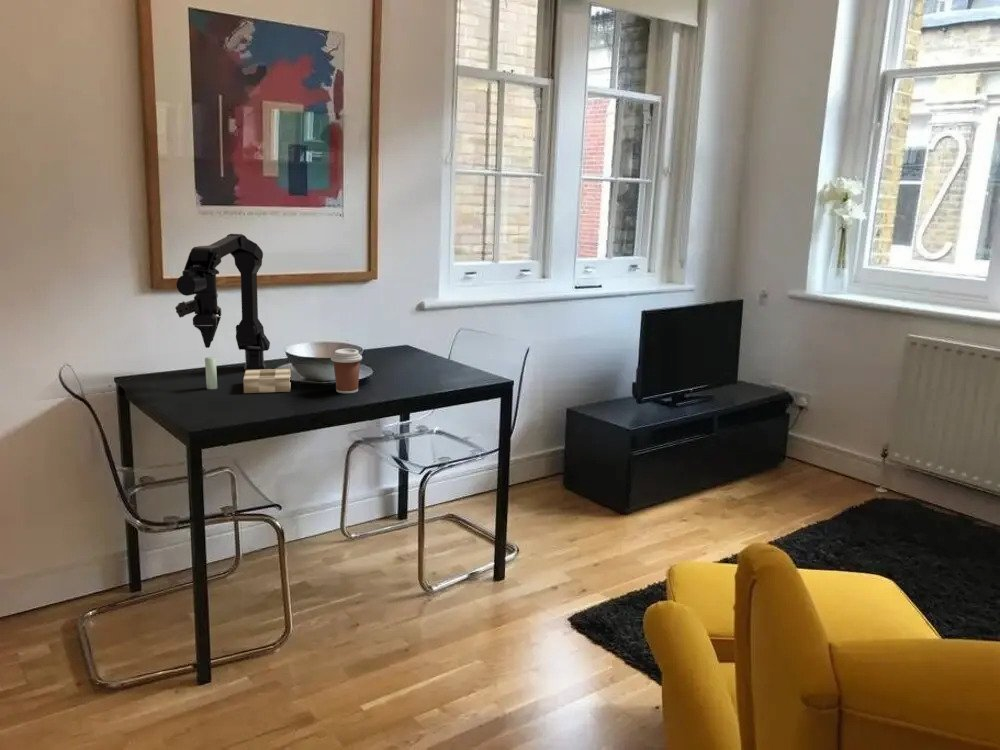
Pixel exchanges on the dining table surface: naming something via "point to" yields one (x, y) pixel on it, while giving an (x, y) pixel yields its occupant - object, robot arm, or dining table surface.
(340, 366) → the coffee cup
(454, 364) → the dining table surface
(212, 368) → the peg
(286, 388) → the hole board
